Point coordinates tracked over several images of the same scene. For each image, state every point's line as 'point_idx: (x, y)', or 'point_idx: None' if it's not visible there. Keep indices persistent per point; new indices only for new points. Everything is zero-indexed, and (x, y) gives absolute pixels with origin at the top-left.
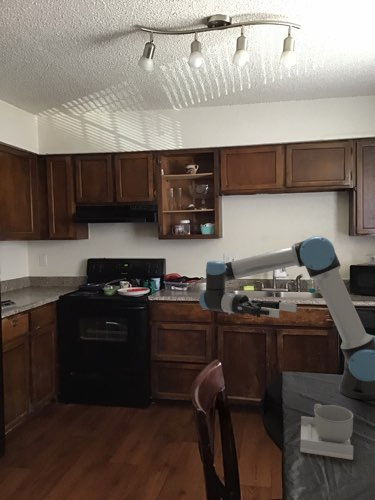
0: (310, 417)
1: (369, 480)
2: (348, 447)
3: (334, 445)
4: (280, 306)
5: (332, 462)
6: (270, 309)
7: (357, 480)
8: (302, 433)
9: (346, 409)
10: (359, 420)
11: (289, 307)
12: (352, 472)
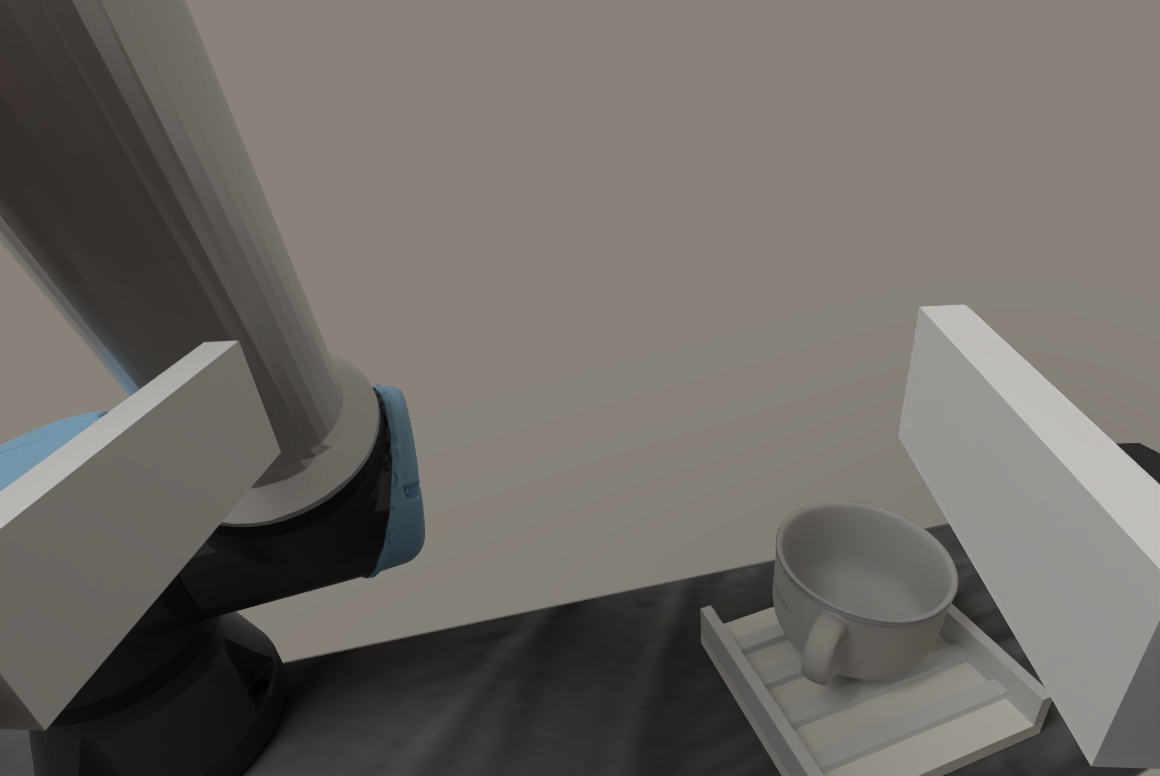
0: (793, 746)
1: (947, 525)
2: None
3: None
4: (25, 627)
5: (969, 618)
6: (1047, 400)
7: None
8: (915, 766)
9: (783, 530)
10: (541, 642)
11: (186, 463)
12: (957, 562)
